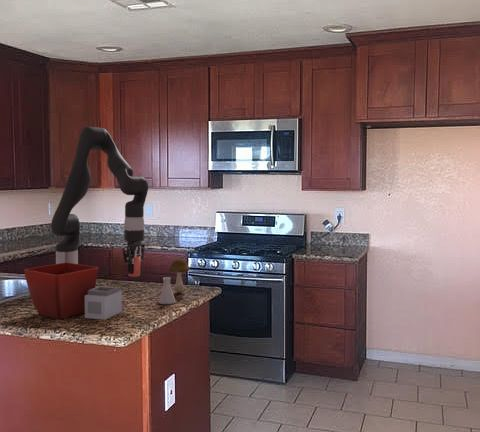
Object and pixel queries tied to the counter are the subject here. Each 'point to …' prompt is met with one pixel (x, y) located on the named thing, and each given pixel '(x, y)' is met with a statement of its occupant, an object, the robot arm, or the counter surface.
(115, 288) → the grey box device
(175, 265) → the mushroom
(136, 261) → the pink cylinder white tip
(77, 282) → the plant pot
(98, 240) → the counter surface
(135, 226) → the robot arm
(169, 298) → the flask
